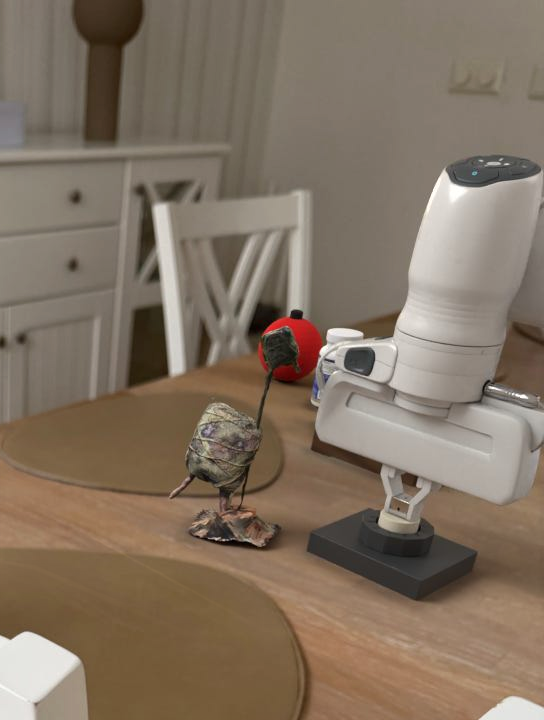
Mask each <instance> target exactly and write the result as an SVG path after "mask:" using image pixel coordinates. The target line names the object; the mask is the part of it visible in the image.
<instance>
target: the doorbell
mask: <svg viewBox="0 0 544 720" xmlns="http://www.w3.org/2000/svg"><path fill="white" fill-rule="evenodd" d="M382 510H383V509H373V508H371V507H368V508H364V509H362V510H360V511H357V512H355V513H353V514H350V515H348V516H345V517H343V518H341V519H338V520H335V521H333V522H331V523H328V524H325V525H323V526H321V527H318V528H316V529H313V530H311V531H310V532H309V537H308V542H307V547H306V552H307V553H310V554H312V555H313V556H316V557H318V558H320V559H323V560H324V561H327V562H329V563H331V564H334V565H336V566H338V567H340V568H342V569H345V570H346V571H349V572H351V573H353V574H356V575H358V576H360V577H362V578H365V579H366V580H369V581H371V582H373V583H375V584H376V585H377V584H378V585H379V586H382V587H384V588H386V589H388V590H390V591H392V592H394V593H397V594H400V595H401V596H404V597H406V598H408V599H410V600H412V601H415V602H417V601H419V600H421V599H423V598H425V597H426V596H428V595H431V594H433V593H434V592H436V591H438V590H440V589H442V588H444V587H445V586H447V585H449V584H451V583H453V582H455V581H458V579H460V578H462V577H464V576H466V575H468V574H470V573H471V572H473V570H474V566H475V563H476V560H477V557H478V554H479V551H477V550H475V549H472V548H470V547H468V546H465V545H463V544H462V543H458V542H455V541H453V540H450V539H448V538H445V537H443V536H441V535H438V534H435V526H434V525H432V523H430V522H429V521H428V520H427V519H425V518H424V517H421V516H420V523H419V527H418V530H417V533H415V534H401V533H396V532H391V531H389V530H386V529H384V528H381V527H380V526H379V525H378V521H379V517H380V513H381V511H382Z"/></svg>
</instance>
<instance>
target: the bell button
mask: <svg viewBox="0 0 544 720" xmlns="http://www.w3.org/2000/svg"><path fill="white" fill-rule="evenodd" d="M381 510H382V511H381V513H380V517H379V521H378V525H379V526H380V527H381V528H384V529H386V530H389V531H391V532H396V533H401V534H415V533H417V530H418V527H419V523H420V518H419V519H418V520H416V521H413V522H410V521H408V520H405V519H403V518H400V517H398V516H396V515H393V514H390V513H387V512H385V511H384V508H382V509H381Z"/></svg>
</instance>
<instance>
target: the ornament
mask: <svg viewBox="0 0 544 720" xmlns="http://www.w3.org/2000/svg"><path fill="white" fill-rule="evenodd" d="M303 316H304V311H303V310H302V309H297V308H294V309H291V311H290V314H289V316H285V317H281V318H278V319H277V320H275V321H274V322H272V323H271V324H270V325H269V326H268V327H267V328H266V329H265V330H264V332H263V333H262V336H263V335H264V334H267V333H268V332H270V331H274V330H276V329H280V328H282V327H284V326H288V327H289V328H291V330H292V332H293V334H294V337H295V340H296V343H297V345H298V347H299V348H298V350H299V357H298V359H297V363H298V365H299V368H300V370H301V372H300V373H297V372H296V371H295V369H294V367H292V366H291V365H289V366H288V367H286V366H280V367H279V368H277V369H275V370H274V372H273V377H272V378H274V379H275V380H279V381H282V382H294V381H298V380H302V379H304V378H305V377H307V376H308V375H310V374H311V373H312V372H313V371H314V370H315V369H316V368H317V363H318V358H319V353H320V350H321V349H322V348H323V340H322V337H321V333H320V332H319V330H318V328H317V327H316V325H314V324H313V323H312V322H311V321H309V319H306V318H304V317H303ZM262 336H261V337H262ZM258 358H259V362H260V364H261V366H262V368H263V369H264V371H265V372H266V373H268V370H269V366H266V365H265V362H264V358H263V355H262V347H261V343H260V342H259V344H258Z"/></svg>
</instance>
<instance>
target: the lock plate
mask: <svg viewBox="0 0 544 720" xmlns="http://www.w3.org/2000/svg"><path fill="white" fill-rule="evenodd" d="M313 432H314V433H313V436H312V440H311V441H312V442H311V446H310V450H312V451H314V452H316V453H320V454H322V455H324V456H327V457H329V458H331V457H332V458H334V459H336V460H340V461H342V462H345V463H348V464H350V465H353V466H355V467H358V468H361V469H363V470H366V471H369V472H372V473H375V474H377V475H379V476H381V474H380V473H381V469H382V465H383V463H380V462H377V461H375V460H372V459H369V458H366V457H364V456H361V455H358V454H355V453H353V452H350V451H347V450H344V449H342V448H339V447H336V446H333V445H331V444H328V443H325V442H322V441H320V439H319V437H318V435H317V432H316V429H315V428H314V431H313ZM417 480H418V476H416V475H413V474H410V473H408V472H406V473H404V474H402V475H401V481H402V485H403V484H404V485H406V486H409V487H411V488H413V487H415V486H416V484H417ZM416 487H417V486H416Z"/></svg>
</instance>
